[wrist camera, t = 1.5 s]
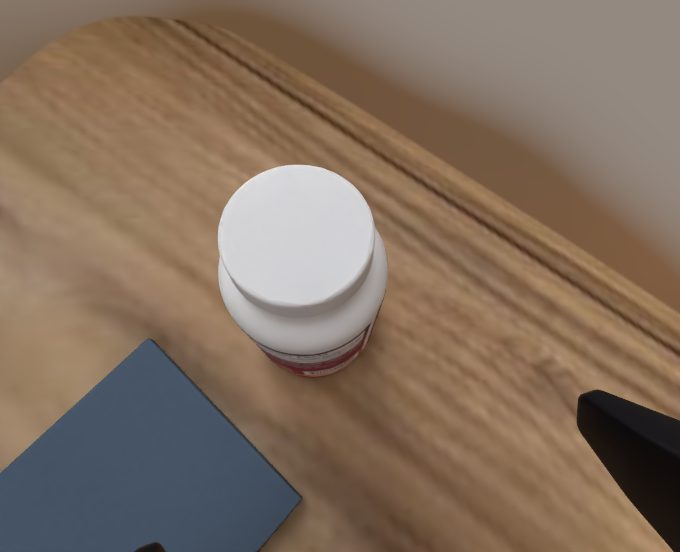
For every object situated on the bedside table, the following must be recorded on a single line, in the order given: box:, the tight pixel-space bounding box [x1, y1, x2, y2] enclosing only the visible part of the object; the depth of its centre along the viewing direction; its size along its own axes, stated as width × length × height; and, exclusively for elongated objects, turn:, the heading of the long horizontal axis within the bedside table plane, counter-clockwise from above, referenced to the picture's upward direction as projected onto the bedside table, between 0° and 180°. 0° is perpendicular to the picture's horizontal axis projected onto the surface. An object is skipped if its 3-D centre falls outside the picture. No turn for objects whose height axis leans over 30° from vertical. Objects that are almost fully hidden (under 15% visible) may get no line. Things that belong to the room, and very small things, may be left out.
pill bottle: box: [218, 165, 388, 377], centre depth 18 cm, size 6×6×11 cm
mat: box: [0, 338, 302, 552], centre depth 19 cm, size 11×11×1 cm
